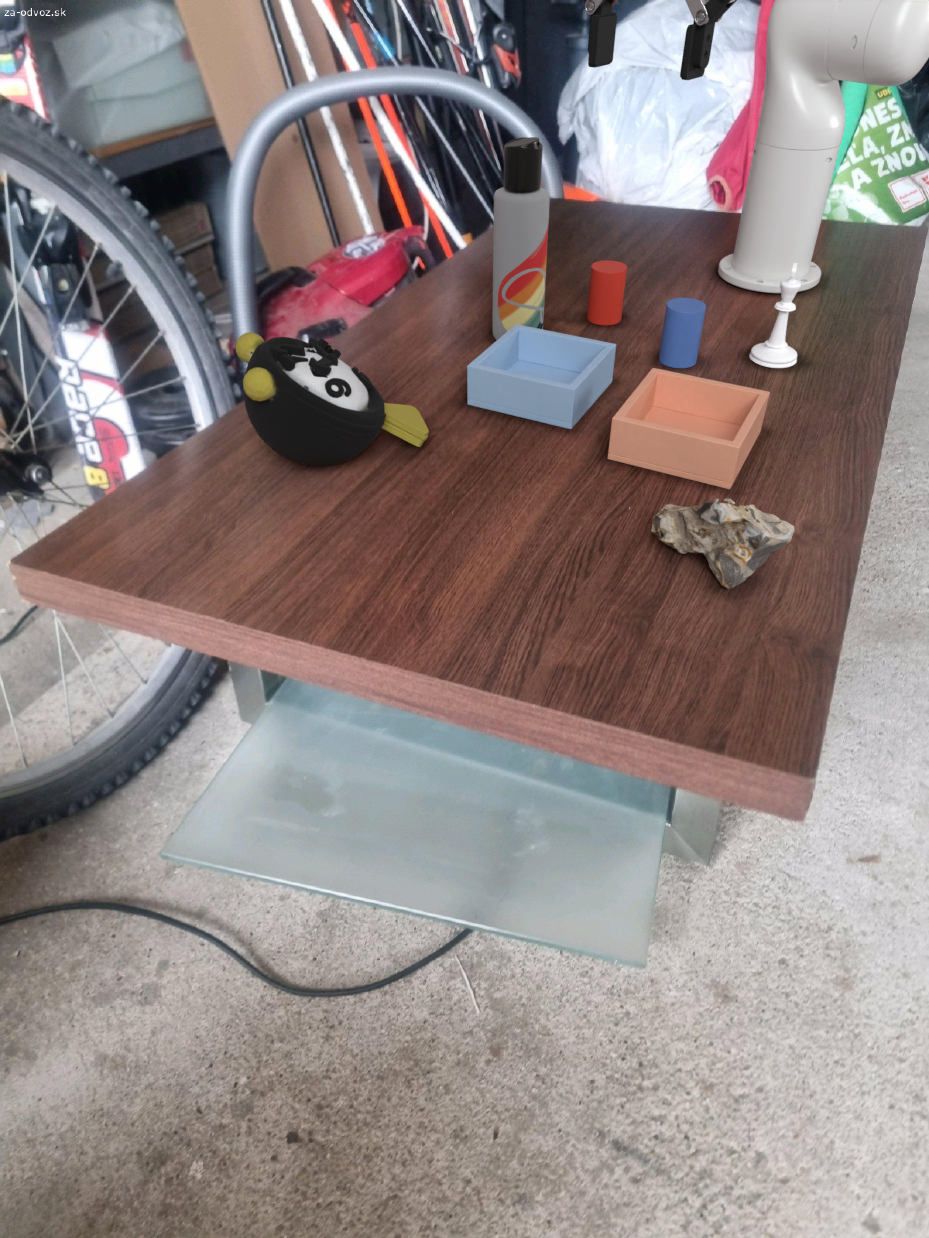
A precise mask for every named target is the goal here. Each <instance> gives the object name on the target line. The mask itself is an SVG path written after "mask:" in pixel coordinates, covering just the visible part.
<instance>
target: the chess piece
mask: <svg viewBox="0 0 929 1238" xmlns="http://www.w3.org/2000/svg"><path fill="white" fill-rule="evenodd" d="M797 265H798V263H796V262H793V266H792V270H791V275H790V279H785V280H783V281H781V283H780V288H781V293H780V298H781V300H780V301H777V302H776V303H775V304H774V306H773V307H774V309H776V310H777V311H778V314H777V317H776V319H775V322H774V324H773V328H772V330H771V333H770V335H769V338H768V339H767V340H765V341H764V342H759V343H757V344H755V345H753V347H752V346H751V349H750V352H749V353H748V357H749V359H750V361H752V362H754V363H755V364H757V365H759V366H761V367H765V368H771V369H787V368H790V367H792V366H793V367H794V365H796V364H797V362H798V352H797V350H795V349H794V348H793V347H791V346H790V345H788V342H786V337H787V329H788V327H787V326H788V320H789V314H790V313H791V312H794V311H796V309H797V307H796V306H797V305H796V304H795V303H794V302H793V300H795V299H794V298H795V297H796V295H797V293H799V292H798V290H799V289H800V287H801V283H800V282H799V281H797V280H795V279H794V278H795V274H796V269H797Z"/></svg>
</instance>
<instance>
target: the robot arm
mask: <svg viewBox="0 0 929 1238" xmlns="http://www.w3.org/2000/svg"><path fill="white" fill-rule="evenodd" d="M737 1H738V0H685V3H686V5H687V7H688V10H689V11H690V15H691V16H692V19H693V22H692V23H691V24H688V26H687V27H686V29H685V30H686V32H685V38H684V42H683V43H684V44H683V50H682V58H681V64H680V65H681V66H680V72H679V78H680V79H681V80H683V81H691V80H695V79H698V78H702V77H703V76H704V74H705V71H706V68H707V67H708V65H709V63H710V58H711V53H712V47H713V39H714V33H715V28H716V23H719V22H720V21H721V20H722V19H723V17H724V14H726V12H728V10H729V9H730V8H731V7H733V5H734V4H735V3H736V2H737ZM583 2H584V9H585V12H586V14H588V15H590V16H589V17H590V18H589V27H588V28H589V29H588V41H587V53H588V59H587V65H588V67H589V68H593V69H594V68H595V69H596V68H599V67H603V66H608V65H610V64H612V63H613V61H614V54H615V53H614V52H615V44H616V43H615V41H616V32H617V22H618V21H617V20H618V16H617V12H616V11H613V8H614V6H615V4H616V3H617V2H618V0H583ZM765 53H766V55H765V56H766V57H765V60H766V61H765V63H766V64H765V75H764V77H765V78H764V87H763V94H762V95H763V96H762V102H761V103H762V104H761V109H760V115H759V119H758V120H759V122H758V124H757V125H758V126H757V131H756V136H755V141H754V146H753V151H752V156H751V161H750V165H749V171H748V177H747V181H746V186H745V193H744V197H743V201H742V203H743V204H742V208H741V214H740V219H739V224H738V227H737V228H738V230H737V234H736V239H735V243H734V249H733V253H729V254H728V255H725V256H724V257H723V258H722V259H720V261H719V262H718V268H717V272H718V275H719V277H720V278H721V279H722V280H724V281H725V282H726V283H728V284H730V285H732V286H735V287H737V288H740V289H745V290H748V291H753V292H759V293H766V294H781V288H780V283H781V281H783V280H785V279H790V275H791V270H792V266H793V262H796V263H798V265H797V269H796V274H795V278H794V279H795V280H797V281H799V282H800V283H801V287H800V289H799V290H798V292H797V293H799V292H804V291H808V290H810V289H813V288H814V287H816V286H817V285H818V284H819V283H820V281H821V277H822V269H821V267H819V265H817V264H816V263H815V262H813V261H812V259H813V257H814V256H813V255H814V252H815V247H816V244H817V239H818V235H819V231H820V228H821V224H822V220H823V216H824V212H825V207H826V204H827V199H828V196H829V191H830V187H831V184H832V180H833V176H834V171H835V167H836V163H837V160H838V155H839V152H840V148H841V145H842V141H843V137H844V134H845V128H846V107H845V101H844V97H843V93H842V89H841V86H840V85H841V84H840V81H842V82H843V81H845V82H851V83H857V84H864V85H869V86H870V85H871V86H877V87H878V86H879V87H898V86H900V85H903V84H905V83H908V82H909V81H910V80H912V79H913V78H915V76H916V75H917V74H918V73H919V72H920V71H921V70H922V68H923V67H924V66H925V64H926V63H927V61H928V60H929V0H774V2H773V4H772V6H771V9H770V11H769V15H768V21H767V29H766V51H765Z"/></svg>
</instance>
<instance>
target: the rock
mask: <svg viewBox="0 0 929 1238" xmlns="http://www.w3.org/2000/svg"><path fill="white" fill-rule="evenodd" d="M719 500H720V499H719V498H715V499H714V501H709V502H708V501H706V502H704V503H702V504H698V505H697V504H696V505H693V506H682V505H676V504H672V503H666V504H663V505H662V506H661V508H660V509H659V510H658V512H657V513H656V514H655V515H653V517H652V526H651V530H650V532H651V533H652V534H654V535H656V537H657V538H658V540H659V541H660V542H661V543H662V544H664V545H667V546H669V547H670V548H672V549H674V550H676V551H677V552H678V553H680V554H683V555H684V554H685V555H686V554H688V553H691V554H702V555H703V556H704V557H705V559H706V560H707V563H708V566H709V568H710V570H711V572H712V573H713V575H714V576H715V578H716V580H717V581H718V582H719V583H720V585H721V586H722V587H723V588H725V589H727V590H731V589H733V588H735V587H737V586H739V585H741V584H743V583H744V582H745V581H746V580H747V578H748V577H750V576H752V575H753V574H754V572H755V571H756V570H757V569H759V568H761V567H762V566H763V565H765V563H766V562H767V560H768V559H769V557H770V555H771V553H773V552H775V551H778V550H780V549H782V548H784V547H786V546H787V545H788V544H789V543H790V542H792V539H793V535H794V533H795V525H794V524H791V523H789V522H788V521H786V520H783V519H781V518H779V517H778V516H777V515H775V514H773V513H770V512H763V511H761V510H760V509H758V508H757V507H756V505H755V504H751V503H749V504H747V505H742V504H739V505H737V506H736V505H735V504H736V502H735V501H733V500H732V499H731V498H726V497H725V498H723V501H725V502H719Z"/></svg>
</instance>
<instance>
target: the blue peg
mask: <svg viewBox="0 0 929 1238" xmlns="http://www.w3.org/2000/svg"><path fill="white" fill-rule="evenodd" d="M706 311H707V304H706V303H705V302H703V301H702V300H699V299H697V298H696V299H695V298H692V297H675V298H671V299H670V300H668V301H667V302H666V305H665V312H664V320H663V324H662V325H663V326H662V333H661V340H660V345H659V346H660V347H659V353H658V362H659V363H660V364H662V365H663V366H666V367H668V368H672V369H687V368H691V367H694V366H695V365H696V364H697V360H698V355H699V350H700V345H701V344H700V343H701V338H702V333H703V327H704V323H705V317H706Z"/></svg>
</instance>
